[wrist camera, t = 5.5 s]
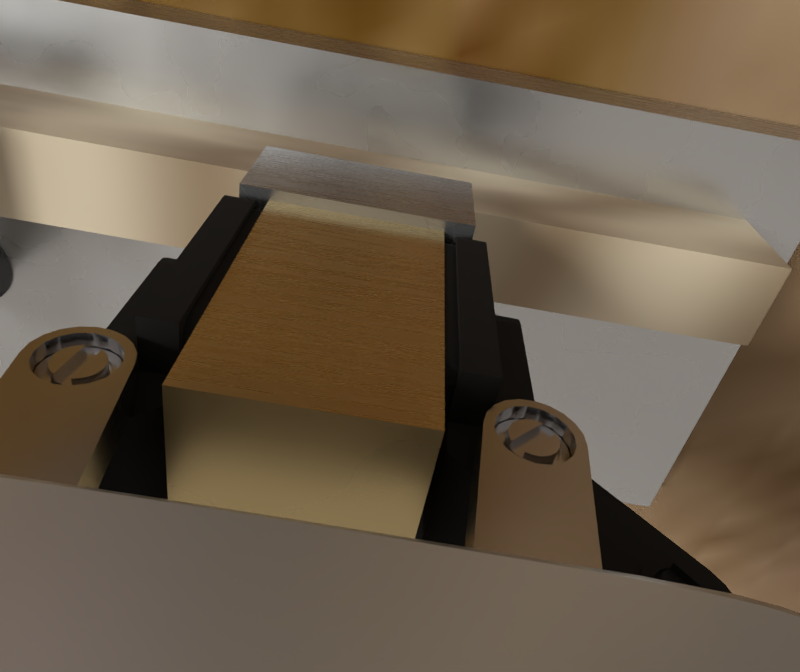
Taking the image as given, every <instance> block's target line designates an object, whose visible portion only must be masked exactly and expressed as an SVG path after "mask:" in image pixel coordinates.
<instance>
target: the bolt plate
mask: <svg viewBox="0 0 800 672" xmlns="http://www.w3.org/2000/svg"><path fill="white" fill-rule="evenodd" d="M0 84H4V85H10V86H15V87H21V88H26V89H32V90H37V91H42V92H48V93H53V94H59V95H64V96H70V97H75V98H81V99H86V100H92V101H97V102H103V103H108V104H114V105H119V106H125V107H130V108H136V109H141V110H146V111H152V112H157V113H163V114H168V115H174V116H179V117H185V118H190V119H196V120H201V121H207V122H212V123H218V124H223V125H229V126H234V127H239V128H245V129H250V130H256V131H261V132H267V133H272V134H278V135H283V136H289V137H294V138H300V139H305V140H311V141H316V142H322V143H327V144H332V145H338V146H343V147H349V148H354V149H360V150H365V151H371V152H376V153H382V154H387V155H393V156H398V157H404V158H409V159H415V160H420V161H425V162H431V163H436V164H442V165H447V166H453V167H458V168H464V169H469V170H475V171H480V172H486V173H491V174H497V175H502V176H508V177H513V178H518V179H524V180H529V181H535V182H540V183H546V184H551V185H557V186H562V187H568V188H573V189H579V190H584V191H590V192H595V193H601V194H606V195H611V196H617V197H622V198H628V199H633V200H639V201H644V202H650V203H655V204H661V205H666V206H672V207H677V208H683V209H688V210H694V211H699V212H704V213H710V214H715V215H721V216H726V217H732V218H737V219H743V220H746V221H747V222H748V223H749V224H750V225H751V226H752V227H753V228H754V229H755V230H756V231H757V232H758V233H759V234H760V235H761V236H762V238H763V239H764V240H765V241H766V242H767V243H768V244H769V245H770V246H771V247H772V248H773V249H774V250H775V251H776V252H777V253H778V255H779V256H780V257H781V258H782V259H783V260H784V261H785V262H786V263H788V261H789V259H790V258H791V256H792V254H793V252H794V251H795V249H796V247H797V245H798V244H799V242H800V127H797V126H791V125H786V124H781V123H776V122H770V121H765V120H760V119H755V118H749V117H744V116H739V115H734V114H728V113H723V112H718V111H713V110H707V109H702V108H697V107H692V106H686V105H681V104H676V103H671V102H665V101H660V100H655V99H650V98H644V97H639V96H634V95H629V94H623V93H618V92H613V91H608V90H602V89H597V88H592V87H587V86H581V85H576V84H571V83H566V82H560V81H555V80H550V79H545V78H539V77H534V76H529V75H524V74H518V73H513V72H508V71H503V70H497V69H492V68H487V67H482V66H476V65H471V64H466V63H461V62H455V61H450V60H445V59H440V58H434V57H429V56H424V55H419V54H413V53H408V52H403V51H398V50H392V49H387V48H382V47H377V46H371V45H366V44H361V43H356V42H350V41H345V40H340V39H335V38H329V37H324V36H319V35H314V34H308V33H303V32H298V31H293V30H287V29H282V28H277V27H272V26H266V25H261V24H256V23H251V22H245V21H240V20H235V19H230V18H224V17H219V16H214V15H209V14H203V13H198V12H193V11H188V10H182V9H177V8H172V7H167V6H161V5H156V4H151V3H146V2H140V1H135V0H0ZM184 249H185V248H179V247H173V246H167V245H162V244H156V243H150V242H144V241H139V240H133V239H127V238H121V237H115V236H110V235H104V234H98V233H92V232H87V231H81V230H75V229H69V228H64V227H58V226H52V225H46V224H41V223H35V222H29V221H23V220H17V219H12V218H6V217H0V378H1V377H2V375H3V374H4V373H5V371H6V370H7V368H8V367H9V366H10V364H11V363H12V362H13V360H14V359H15V358H16V356H17V355H18V353H19V352H20V351H21V350H22V349H23V348H24V347H25V346H26V345H27V344H28V343H29V342H31V341H33V340H35V339H36V338H38V337H40V336H42V335H44V334H47V333H50V332H53V331H56V330H59V329H64V328H72V327H79V326H81V327H100V328H105V329H106V328H107V327H108V326H109V324H110V323H111V322H112V320H113V319H114V318H115V317H116V315H117V314H118V313H119V312H120V310H121V309H122V308H123V306H124V305H125V304H126V303H127V301H128V300H129V299H130V298H131V296H132V295H133V294H134V292H135V291H136V290H137V289H138V287H139V286H140V285H141V284H142V282H143V281H144V280H145V278H146V277H147V276H148V275H149V273H150V272H151V271H152V269H153V268H154V267H155V266H156V264H157V263H158V262H159V261H160V260H161V259H162V258H173V259H177V258H178V257H179V255H180V254H181V253H182V251H183V250H184ZM494 309H495V315H498V316H504V317H509V318H515V319H518V320H520V323H521V328H522V333H523V339H524V345H525V350H526V356H527V361H528V367H529V372H530V378H531V384H532V389H533V395H534V400H535V401H536V402H539V403H542V404H545V405H548V406H551V407H552V408H554V409H556V410H558V411H560V412H562V413H563V414H565V415H566V416H567V417H568V418H569V419H571V420H572V421H573V422H574V423H575V424H576V425H577V426H578V428H579V429H580V430H581V432H582V433H583V434H584V437H585V440H586V443H587V446H588V453H589V461H590V470H591V478H592V479H593V480H594V481H595V482H596V483H598V484H599V485H600V486H602V487H603V488H604V489H605V490H607V491H608V492H609V493H611V494H612V495H613V496H614V497H616V498H617V499H618V500H620V501H621V502H623V503H629V504H635V505H642V506H648V507H649V506H650V504H651V503H652V501H653V499H654V497H655V496H656V494H657V492H658V490H659V489H660V487H661V485H662V483H663V482H664V480H665V478H666V476H667V474H668V473H669V471H670V469H671V467H672V466H673V464H674V462H675V460H676V459H677V457H678V455H679V453H680V452H681V450H682V448H683V446H684V445H685V443H686V441H687V439H688V437H689V436H690V434H691V432H692V430H693V429H694V427H695V425H696V423H697V422H698V420H699V418H700V416H701V415H702V413H703V411H704V409H705V408H706V406H707V404H708V402H709V400H710V399H711V397H712V395H713V393H714V392H715V390H716V388H717V386H718V385H719V383H720V381H721V379H722V378H723V376H724V374H725V372H726V371H727V369H728V367H729V365H730V363H731V362H732V360H733V358H734V356H735V355H736V353H737V351H738V349H739V348H740V346H741V345H738V344H732V343H727V342H721V341H715V340H709V339H704V338H698V337H692V336H686V335H681V334H675V333H669V332H663V331H657V330H652V329H646V328H640V327H634V326H629V325H623V324H617V323H611V322H606V321H600V320H594V319H588V318H583V317H577V316H571V315H565V314H559V313H554V312H548V311H542V310H536V309H531V308H525V307H519V306H513V305H508V304H502V303H496V302H494Z"/></svg>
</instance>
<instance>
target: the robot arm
mask: <svg viewBox="0 0 800 672" xmlns="http://www.w3.org/2000/svg"><path fill="white" fill-rule="evenodd" d="M262 211H263V210H259V208H258V202H257V201H256V200H250V199H245V198H239V197H233V196H228V195H224V196H223V197H222V199H221V200H220V201H219V203H218V204H217V205H216V207H215V208H214V209H213V211H212V212H211V214H210V215H209V216H208V218H207V219H206V220H205V222H204V223H203V224H202V226H201V227H200V228H199V230H198V231H197V232H196V234H195V235H194V237H193V238H192V239H191V241H190V242H189V243H188V245H187V246H186V247H185V249H184V250H183V251H182V253H181V254H180V255H179V257H178V258H177V259H173V258H162V259H161V260H160V261H159V262H158V263H157V264H156V266H155V267H154V268H153V269H152V271H151V272H150V273H149V275H148V276H147V277H146V278H145V280H144V281H143V282H142V284H141V285H140V286H139V287H138V289H137V290H136V291H135V292H134V294H133V295H132V296H131V298H130V299H129V300H128V301H127V303H126V304H125V305H124V306H123V308H122V309H121V310H120V312H119V313H118V314H117V315H116V317H115V318H114V319H113V320H112V322H111V323H110V324H109V326H108V327H107V328H106V329H105V328H100V327H81V326H79V327H72V328H64V329H59V330H56V331H53V332H50V333H47V334H44V335H42V336H40V337H38V338H36V339H35V340H33V341H31V342H29V343H28V344H27V345H26V346H25V347H24V348H23V349H22V350H21V351H20V352H19V353H18V355H17V356H16V358H15V359H14V360H13V362H12V363H11V364H10V366H9V367H8V368H7V370H6V371H5V373H4V374H3V375H2V377H1V378H0V672H800V613H798V612H795V611H792V610H789V609H787V608H784V607H780V606H777V605H773V604H769V603H766V602H762V601H758V600H755V599H751V598H747V597H744V596H740V595H736V594H732V593H731V592H730V591H729V589H728V588H727V586H726V585H725V584H724V583H723V582H722V581H721V580H719V579H718V578H717V577H716V576H715V575H714V574H713V573H712V572H711V571H710V570H708V569H707V568H706V567H705V566H703V565H702V564H701V563H699V562H698V561H697V560H696V559H694V558H693V557H692V556H690V555H689V554H688V553H687V552H685V551H684V550H683V549H681V548H680V547H679V546H677V545H676V544H675V543H674V542H672V541H671V540H670V539H668V538H667V537H666V536H665V535H663V534H662V533H661V532H659V531H658V530H657V529H656V528H654V527H653V526H652V525H650V524H649V523H648V522H647V521H645V520H644V519H643V518H641V517H640V516H639V515H638V514H636V513H635V512H634V511H632V510H631V509H630V508H629V507H627V506H626V505H625V504H623V503H622V502H621V501H620V500H618V499H617V498H616V497H614V496H613V495H612V494H611V493H609V492H608V491H607V490H605V489H604V488H603V487H602V486H600V485H599V484H598V483H596V482H595V481H594V480H593V479H592V478H591V470H590V461H589V453H588V446H587V443H586V440H585V437H584V434H583V433H582V432H581V430H580V429H579V428H578V426H577V425H576V424H575V423H574V422H573V421H572V420H571V419H569V418H568V417H567V416H566V415H565V414H563V413H562V412H560V411H558V410H556V409H554V408H552V407H551V406H548V405H545V404H542V403H539V402H536V401H535V400H534V395H533V389H532V384H531V378H530V372H529V367H528V361H527V356H526V350H525V345H524V339H523V333H522V328H521V323H520V320H518V319H515V318H509V317H504V316H498V315H495V309H494V301H493V293H492V284H491V276H490V268H489V260H488V251H487V244H486V242H483V241H477V240H472V239H466V238H461V237H455V239H454V242H453V244H448V243H444V321H445V432H444V436H443V439H442V443H441V446H440V450H439V454H438V457H437V461H436V464H435V468H434V472H433V475H432V479H431V482H430V486H429V490H428V493H427V497H426V500H425V504H424V508H423V511H422V515H421V519H420V522H419V526H418V529H417V533H416V537H415V539H414V538H408V537H402V536H396V535H390V534H384V533H377V532H371V531H365V530H359V529H352V528H346V527H340V526H333V525H327V524H321V523H314V522H308V521H302V520H296V519H289V518H283V517H277V516H270V515H264V514H258V513H251V512H245V511H238V510H232V509H226V508H219V507H213V506H207V505H200V504H194V503H187V502H181V501H175V500H168V492H167V473H166V454H165V434H164V415H163V396H162V384H163V382H164V380H165V379H166V377H167V375H168V374H169V372H170V370H171V368H172V367H173V365H174V363H175V361H176V360H177V358H178V356H179V355H180V353H181V351H182V349H183V348H184V346H185V344H186V342H187V341H188V339H189V337H190V336H191V334H192V332H193V330H194V329H195V327H196V325H197V323H198V322H199V320H200V318H201V317H202V315H203V313H204V311H205V310H206V308H207V306H208V304H209V303H210V301H211V299H212V298H213V296H214V294H215V292H216V291H217V289H218V287H219V285H220V284H221V282H222V280H223V279H224V277H225V275H226V273H227V272H228V270H229V268H230V266H231V265H232V263H233V261H234V260H235V258H236V256H237V254H238V253H239V251H240V249H241V247H242V246H243V244H244V242H245V241H246V239H247V237H248V235H249V234H250V232H251V230H252V228H253V227H254V225H255V223H256V222H257V220H258V218H259V216H260V215H261V213H262Z"/></svg>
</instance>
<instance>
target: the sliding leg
mask: <svg viewBox="0 0 800 672" xmlns="http://www.w3.org/2000/svg"><path fill="white" fill-rule="evenodd" d="M239 198H245V199H250V200H256V201H257V202H258V208H259V210H263V211H262V213H261V215H260V216H259V218H258V220H257V222H256V223H255V225H254V227H253V228H252V230H251V232H250V234H249V235H248V237H247V239H246V241H245V242H244V244H243V246H242V247H241V249H240V251H239V253H238V254H237V256H236V258H235V260H234V261H233V263H232V265H231V266H230V268H229V270H228V272H227V273H226V275H225V277H224V279H223V280H222V282H221V284H220V285H219V287H218V289H217V291H216V292H215V294H214V296H213V298H212V299H211V301H210V303H209V304H208V306H207V308H206V310H205V311H204V313H203V315H202V317H201V318H200V320H199V322H198V323H197V325H196V327H195V329H194V330H193V332H192V334H191V336H190V337H189V339H188V341H187V342H186V344H185V346H184V348H183V349H182V351H181V353H180V355H179V356H178V358H177V360H176V361H175V363H174V365H173V367H172V368H171V370H170V372H169V374H168V375H167V377H166V379H165V380H164V382H163V384H162V396H163V415H164V434H165V454H166V473H167V492H168V500H175V501H181V502H187V503H194V504H200V505H207V506H213V507H219V508H226V509H232V510H238V511H245V512H251V513H258V514H264V515H270V516H277V517H283V518H289V519H296V520H302V521H308V522H314V523H321V524H327V525H333V526H340V527H346V528H352V529H359V530H365V531H371V532H377V533H384V534H390V535H396V536H402V537H408V538H414V539H415V537H416V533H417V529H418V526H419V522H420V519H421V515H422V511H423V508H424V504H425V500H426V497H427V493H428V490H429V486H430V482H431V479H432V475H433V472H434V468H435V464H436V461H437V457H438V454H439V450H440V446H441V443H442V439H443V436H444V432H445V321H444V243H448V244H453V242H454V239H455V237H461V238H466V239H473V235H474V231H475V227H476V223H475V212H474V202H473V192H472V183H469V182H464V181H458V180H453V179H447V178H442V177H436V176H431V175H425V174H420V173H414V172H409V171H403V170H398V169H392V168H387V167H381V166H376V165H370V164H365V163H359V162H354V161H348V160H343V159H337V158H332V157H326V156H321V155H315V154H310V153H304V152H299V151H293V150H288V149H282V148H277V147H271V146H266V147H265V149H264V150H263V151H262V153H261V154H260V156H259V157H258V158H257V160H256V161H255V163H254V164H253V165H252V167H251V168H250V170H249V171H248V172H247V174H246V175H245V177H244V178H243V179H242V181H241V182H240V184H239Z"/></svg>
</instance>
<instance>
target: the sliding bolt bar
mask: <svg viewBox="0 0 800 672" xmlns="http://www.w3.org/2000/svg"><path fill="white" fill-rule="evenodd" d="M266 146H271V147H277V148H282V149H288V150H293V151H299V152H304V153H310V154H315V155H321V156H326V157H332V158H337V159H343V160H348V161H354V162H359V163H365V164H370V165H376V166H381V167H387V168H392V169H398V170H403V171H409V172H414V173H420V174H425V175H431V176H436V177H442V178H447V179H453V180H458V181H464V182H469V183H472V192H473V202H474V212H475V223H476V227H475V231H474V235H473V239H472V240H477V241H483V242H486V244H487V251H488V260H489V268H490V276H491V284H492V293H493V301H494V302H496V303H502V304H508V305H513V306H519V307H525V308H531V309H536V310H542V311H548V312H554V313H559V314H565V315H571V316H577V317H583V318H588V319H594V320H600V321H606V322H611V323H617V324H623V325H629V326H634V327H640V328H646V329H652V330H657V331H663V332H669V333H675V334H681V335H686V336H692V337H698V338H704V339H709V340H715V341H721V342H727V343H732V344H738V345H744V346H748V345H749V343H750V342H751V340H752V338H753V336H754V335H755V333H756V331H757V329H758V328H759V326H760V324H761V323H762V321H763V319H764V317H765V316H766V314H767V312H768V310H769V309H770V307H771V305H772V303H773V302H774V300H775V298H776V296H777V295H778V293H779V291H780V290H781V288H782V286H783V284H784V283H785V281H786V279H787V277H788V276H789V274H790V272H791V270H792V268H791V267H790V266H789V265H788V264H787V263H786V262H785V261H784V260H783V259H782V258H781V257H780V256H779V255H778V253H777V252H776V251H775V250H774V249H773V248H772V247H771V246H770V245H769V244H768V243H767V242H766V241H765V240H764V239H763V238H762V236H761V235H760V234H759V233H758V232H757V231H756V230H755V229H754V228H753V227H752V226H751V225H750V224H749V223H748V222H747V221H746V220H743V219H737V218H732V217H726V216H721V215H715V214H710V213H704V212H699V211H694V210H688V209H683V208H677V207H672V206H666V205H661V204H655V203H650V202H644V201H639V200H633V199H628V198H622V197H617V196H611V195H606V194H601V193H595V192H590V191H584V190H579V189H573V188H568V187H562V186H557V185H551V184H546V183H540V182H535V181H529V180H524V179H518V178H513V177H508V176H502V175H497V174H491V173H486V172H480V171H475V170H469V169H464V168H458V167H453V166H447V165H442V164H436V163H431V162H425V161H420V160H415V159H409V158H404V157H398V156H393V155H387V154H382V153H376V152H371V151H365V150H360V149H354V148H349V147H343V146H338V145H332V144H327V143H322V142H316V141H311V140H305V139H300V138H294V137H289V136H283V135H278V134H272V133H267V132H261V131H256V130H250V129H245V128H239V127H234V126H229V125H223V124H218V123H212V122H207V121H201V120H196V119H190V118H185V117H179V116H174V115H168V114H163V113H157V112H152V111H146V110H141V109H136V108H130V107H125V106H119V105H114V104H108V103H103V102H97V101H92V100H86V99H81V98H75V97H70V96H64V95H59V94H53V93H48V92H42V91H37V90H32V89H26V88H21V87H15V86H10V85H4V84H0V217H6V218H12V219H17V220H23V221H29V222H35V223H41V224H46V225H52V226H58V227H64V228H69V229H75V230H81V231H87V232H92V233H98V234H104V235H110V236H115V237H121V238H127V239H133V240H139V241H144V242H150V243H156V244H162V245H167V246H173V247H179V248H185V247H186V246H187V245H188V243H189V242H190V241H191V239H192V238H193V237H194V235H195V234H196V232H197V231H198V230H199V228H200V227H201V226H202V224H203V223H204V222H205V220H206V219H207V218H208V216H209V215H210V214H211V212H212V211H213V209H214V208H215V207H216V205H217V204H218V203H219V201H220V200H221V199H222V197H223V196H224V195H228V196H233V197H239V184H240V182H241V181H242V179H243V178H244V177H245V175H246V174H247V172H248V171H249V170H250V168H251V167H252V165H253V164H254V163H255V161H256V160H257V158H258V157H259V156H260V154H261V153H262V151H263V150H264V149H265V147H266Z"/></svg>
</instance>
